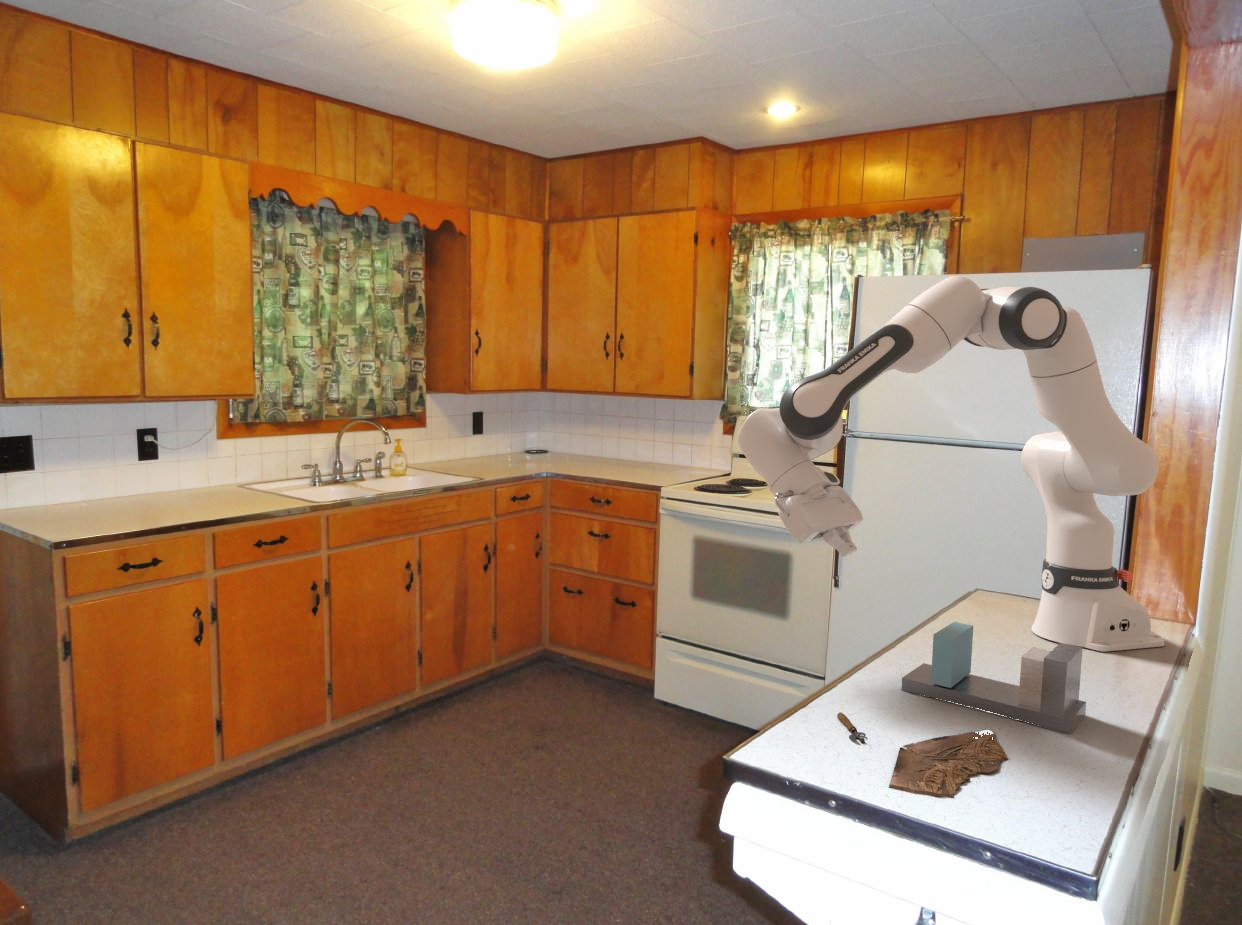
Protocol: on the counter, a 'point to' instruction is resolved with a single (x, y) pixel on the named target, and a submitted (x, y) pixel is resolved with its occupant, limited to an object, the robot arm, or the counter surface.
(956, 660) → the slide jaw
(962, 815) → the counter surface
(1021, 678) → the steel block
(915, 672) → the vise bed
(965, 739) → the wooden fragment
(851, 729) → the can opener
